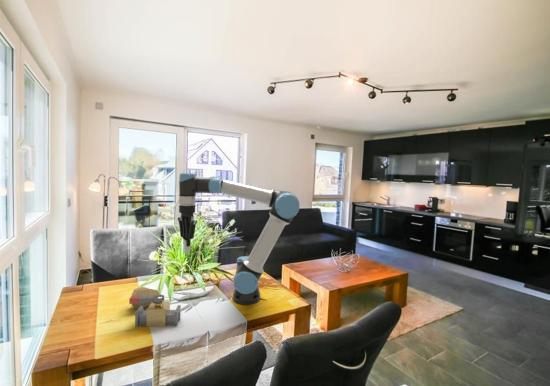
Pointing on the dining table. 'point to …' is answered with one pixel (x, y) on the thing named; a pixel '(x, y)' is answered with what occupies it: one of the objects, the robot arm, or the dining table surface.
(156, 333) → the dining table surface
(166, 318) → the valve
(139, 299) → the lever
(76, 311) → the dining table surface
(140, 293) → the low-poly potato
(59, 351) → the dining table surface
